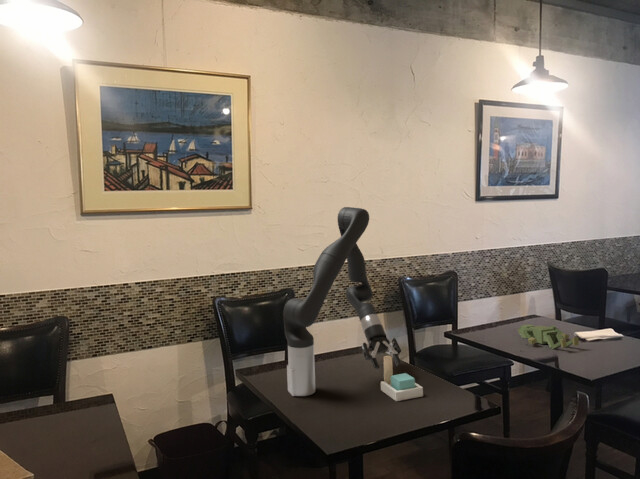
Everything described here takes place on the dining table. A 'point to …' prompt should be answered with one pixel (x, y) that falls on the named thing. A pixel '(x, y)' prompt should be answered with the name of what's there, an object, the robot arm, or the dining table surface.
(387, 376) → the tethered block
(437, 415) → the dining table surface
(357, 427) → the dining table surface
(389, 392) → the cream u-shaped frame
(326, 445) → the dining table surface
